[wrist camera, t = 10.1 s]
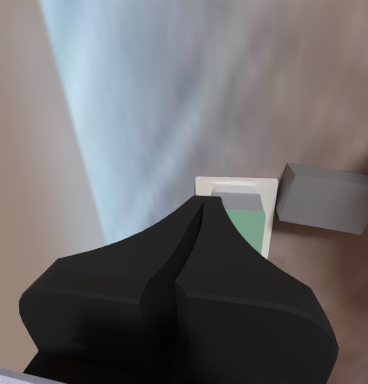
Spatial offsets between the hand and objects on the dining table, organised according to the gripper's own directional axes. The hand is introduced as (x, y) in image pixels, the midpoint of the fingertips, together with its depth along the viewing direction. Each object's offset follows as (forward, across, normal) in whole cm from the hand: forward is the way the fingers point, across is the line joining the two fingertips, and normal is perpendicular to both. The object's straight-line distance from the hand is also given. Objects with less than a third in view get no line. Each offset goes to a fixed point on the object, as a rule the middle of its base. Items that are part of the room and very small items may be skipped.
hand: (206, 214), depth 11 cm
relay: (+10, -8, +3) cm, 14 cm away
